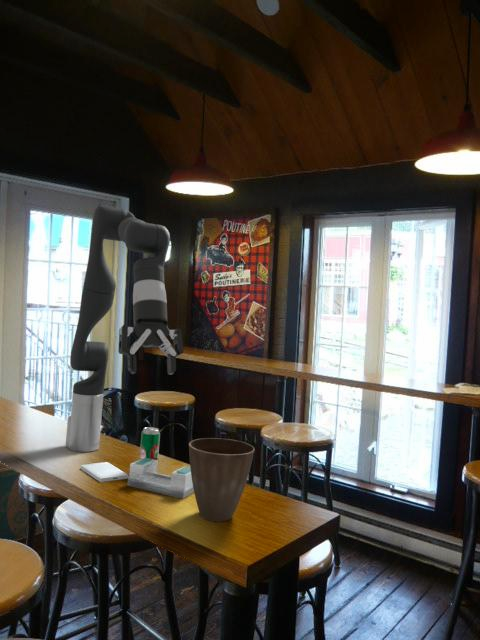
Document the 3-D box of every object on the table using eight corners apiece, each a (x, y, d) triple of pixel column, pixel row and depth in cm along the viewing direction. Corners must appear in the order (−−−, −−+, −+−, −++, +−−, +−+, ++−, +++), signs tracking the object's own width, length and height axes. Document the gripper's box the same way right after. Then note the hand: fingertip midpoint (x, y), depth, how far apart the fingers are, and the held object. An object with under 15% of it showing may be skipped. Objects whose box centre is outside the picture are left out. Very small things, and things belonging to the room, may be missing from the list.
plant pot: (169, 512, 124) (175, 442, 124) (214, 499, 135) (220, 434, 135) (216, 534, 114) (223, 458, 114) (261, 518, 125) (267, 449, 125)
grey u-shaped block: (127, 485, 139) (129, 462, 139) (144, 477, 147) (146, 456, 147) (183, 498, 133) (185, 475, 133) (197, 489, 141) (199, 467, 141)
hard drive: (80, 464, 149) (100, 478, 140) (108, 461, 155) (129, 474, 145) (80, 470, 149) (100, 484, 140) (107, 467, 155) (129, 480, 145)
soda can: (136, 469, 153) (140, 426, 153) (154, 468, 155) (157, 426, 155) (140, 474, 149) (144, 431, 148) (158, 474, 151) (162, 431, 150)
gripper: (173, 311, 131) (176, 378, 126) (114, 306, 124) (115, 376, 119) (185, 300, 124) (189, 370, 120) (124, 295, 118) (125, 368, 113)
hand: (152, 373), depth 119 cm, fingers open, 8 cm apart
